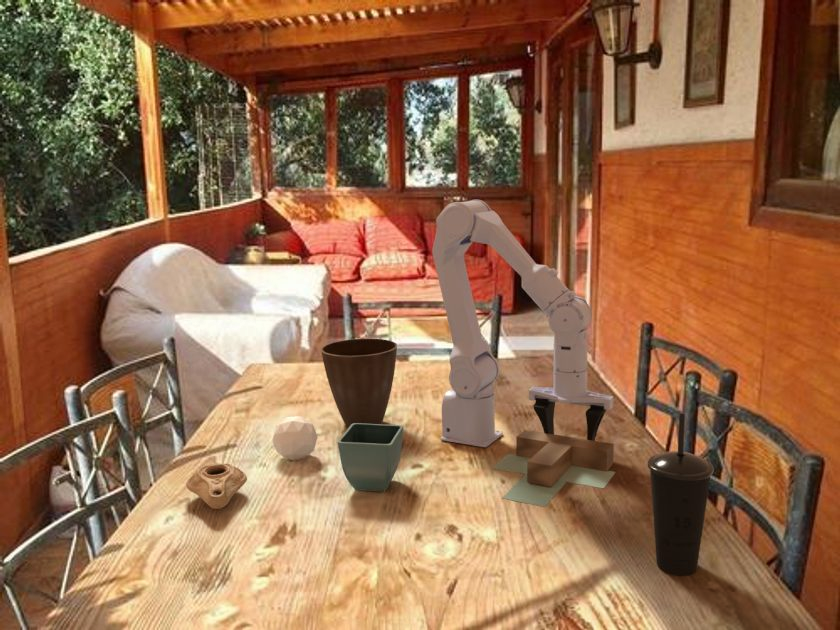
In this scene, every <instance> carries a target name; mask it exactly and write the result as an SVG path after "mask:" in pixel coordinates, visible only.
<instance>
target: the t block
mask: <svg viewBox="0 0 840 630" xmlns="http://www.w3.org/2000/svg"><path fill="white" fill-rule="evenodd" d="M515 441H516V442H515V444H516V447H515V448H516V449H515V451H516V452H515V455H516V456H520V457H526V458H531V459H530V460H529V461H527V482H528V483H533V484H538V485H543V486H549V487H551V486H552V485H553V484H554V483H555V482H556V481H557V480H558V479H559V478H560V477H561V476H562V475H563V474H564V473H565V472H566V471H567V470H568V469H569V468H570V466H571V465H572V466H578V467H583V468H589V469H595V470H600V471H606V472H607V471H609V470H610V469H611V467H612V466H613V465H614V457H615V456H614V452H615V448H614V447H615V446H614V445H615V444H614V443H611V442H604V441H598V440H595V441H593V440H587V438H585V439H584V438H579V437H573V436H567V435H559V434H555V433H554V434H548V433H544V432H540V431H534V430H528V429H524V430H523V431H522V432H521V433H520V434H518V435H517V436H516V438H515Z"/></svg>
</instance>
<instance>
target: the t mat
mask: <svg viewBox="0 0 840 630" xmlns="http://www.w3.org/2000/svg"><path fill="white" fill-rule="evenodd" d="M530 459H531V458H526V457H520V456H516V454H513V453H508V454H506V455H505V456H504V457H503V458H502V459H501V460H499V461H498V462H497V463H496V464H495V465H493V466H492V469H495V470H499V471H505V472H510V473H516V474H522V475H523V476H522V477H521V478H520V479H519V480H518V481H517V482H516V483H515V484H514V485H513V486H512V487H511V488H510V489H509V490H508V491H507V492H506V493H505V494H504V495H503V496H502V497H501V499H503V500H509V501H512V502H513V501H514V502H518V503H523V504H527V505H532V506H537V507H541V508H542V507H543V508H546V507H547V505H549V503H550V502H551V500H553V499H554V498H555V496H556V495H557V494H559V492H560V490H562V488H563V487H564V486H565V485H566V484H567V483H570V484H571V483H572V484H576V485H582V486H587V487H592V488H596V489H597V488H598V489H603V490H604V489H605V487H607V485H608V483H609V482H610V481H611V479H612V478H613V476H615V474H616V471H613V470H608V471H607V472H606V471H600V470H595V469H589V468H583V467H578V466H572V465H571V466H570V468H569V469H568V470H567V471H566V472H565V473H564V474H563V475H562V476H561V477H560V478H559V479H558V480H557V481H556V482H555V483H554V484H553V485H552V486H551V487H549V486H543V485H538V484H533V483H528V482H527V461H529V460H530Z"/></svg>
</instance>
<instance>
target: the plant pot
mask: <svg viewBox="0 0 840 630" xmlns="http://www.w3.org/2000/svg"><path fill="white" fill-rule="evenodd" d="M397 344H398V343H396V342H394V341H392V340H390V339H389V340H388V339H385V338H371V337H370V338H352V339H344V340H338V341H333V342H331V343H328V344H327V343H326V344H325V345H323V346H322V347H321V349H320V352H321V357H322V361H323V365H324V366H323V367H324V371H325V374H326V378H327V381H328V384H329V388H330V391H331V394H332V397H333V399H334V403H335V405H336V408H337V410H338V412H339V415H340V417H341V419H342V422H343V423H344V425H345V427H346V428H347V429H348V428H349V427H350V426H351V424H353V423H364V424H382V425H383V421H384V418H385V415H386V411H387V408H388V404H389V402H390V401H389V400H390V398H391V397H390V396H391V393H392V388H393V383H394V377H395V369H396V363H397V362H396V361H397V352H398V351H397V349H398V345H397Z"/></svg>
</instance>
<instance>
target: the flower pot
mask: <svg viewBox="0 0 840 630" xmlns="http://www.w3.org/2000/svg"><path fill="white" fill-rule="evenodd" d="M403 435H404V425H402V424H401V425H400V424H399V425H398V424H383V423H382V424H364V423H353V424H351V426H350V427H349V428H348V427H347V430H346V431H345V432H344V433H343V434H342V435H341V437H340V438H339V439H338V440H337V447H338V452H339V458H340V463H341V469H342V471H343V473H344V476H345V478H346V480H347V481H348V483H349V485H350V486H351V487H352V488H353V489H354V490H356V491H366V492H367V491H370V492H385V491H387V489H388V487H389V485H390V483H391V482H392V481H393V478H394V476H395V474H396V472H397V470H398V467H399V464H400V460H401V456H402V449H403V448H402V447H403V439H404V438H403Z"/></svg>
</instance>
